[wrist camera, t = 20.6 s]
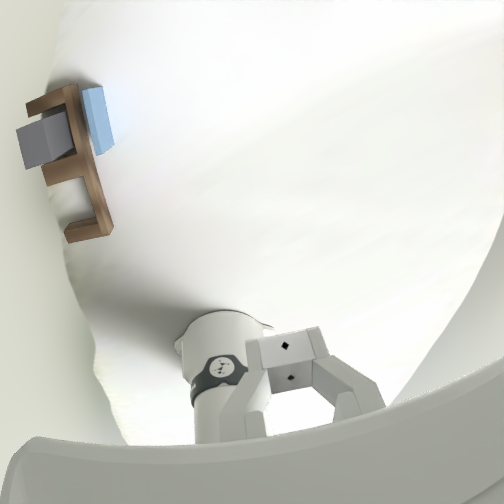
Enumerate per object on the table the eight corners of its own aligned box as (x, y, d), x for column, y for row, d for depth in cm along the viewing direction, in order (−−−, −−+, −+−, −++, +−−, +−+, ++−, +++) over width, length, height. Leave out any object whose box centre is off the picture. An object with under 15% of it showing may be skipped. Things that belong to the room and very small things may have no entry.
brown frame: (135, 222, 42) (127, 240, 37) (74, 235, 41) (62, 252, 37) (100, 75, 30) (85, 76, 26) (34, 101, 30) (15, 106, 26)
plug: (78, 144, 34) (51, 161, 28) (54, 151, 34) (25, 169, 27) (71, 109, 32) (42, 119, 25) (46, 117, 31) (16, 129, 25)
